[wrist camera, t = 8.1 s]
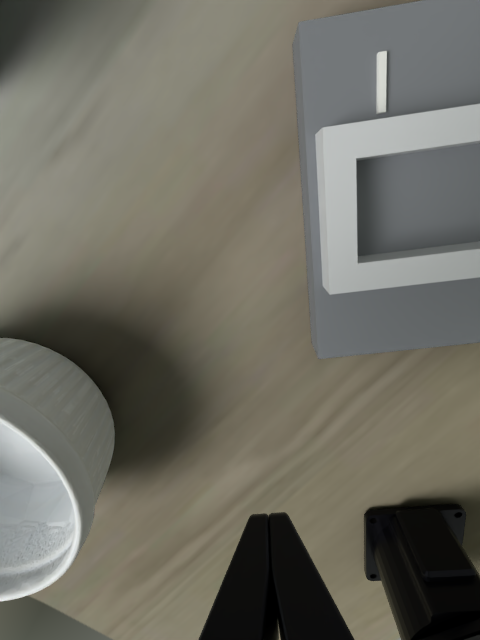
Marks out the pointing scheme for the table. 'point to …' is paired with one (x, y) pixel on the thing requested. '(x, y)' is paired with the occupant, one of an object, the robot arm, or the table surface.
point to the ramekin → (47, 464)
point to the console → (391, 176)
